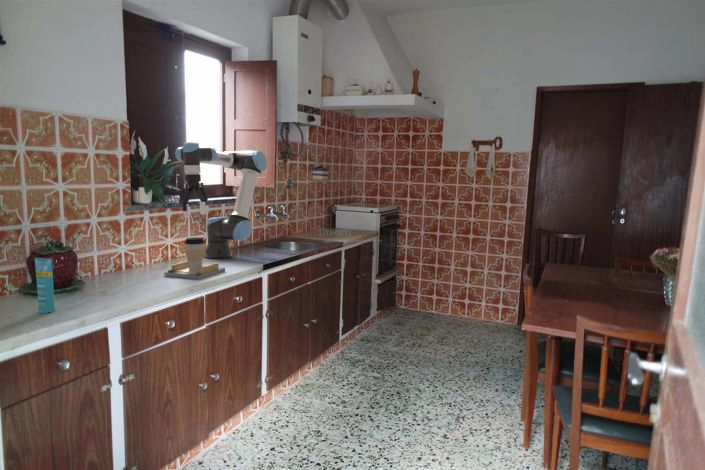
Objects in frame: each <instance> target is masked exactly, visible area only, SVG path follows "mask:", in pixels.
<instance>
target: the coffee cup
mask: <svg viewBox="0 0 705 470" xmlns="http://www.w3.org/2000/svg"><path fill="white" fill-rule="evenodd" d="M205 243H206V242H205V240H204V238H203V237H188V238H186V239H185V241H184V244H185V251H186V258H187V259H186V261H188V265H189V270H192V271H196V270H198V268H199V267H202V266H203V260H204V254H205V252H204V251H205V247H204V246H205V245H204V244H205Z"/></svg>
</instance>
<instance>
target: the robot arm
mask: <svg viewBox="0 0 705 470" xmlns="http://www.w3.org/2000/svg"><path fill="white" fill-rule="evenodd" d="M174 155H175V158H176V159H177V161H179V162H183V164H184V167H183V168H184V173H185V174H184V181H185V183H183V184H182V190H181V194H180V197H179V201H178V203H179V204H180V205H182V211H183V212H182V213H183V214H182V215H183V218H187V219H189V218H190V208H189V206H190V205H189V204H188V203H189V201H190V199H191V196H192V194H193V193H195V194H196V196H197V198H198V199H199V214H200V215H206V203H207V202H208V200H209V198H208V195H207V191H206V189H205V187H204V182H201V181H202V178H201V164H207V165H214V166H215V165H216V166H221V167H223V168H226V169H232V170H235V171H236V170H237V171H240V172H241V173H242V174H241V177H240V178H241V179H240V182H239V183H240V184H239V186H238V191H237V195H236V198H235V204H234V208H233V212H231V213H230V214H229V216H218V217H217V216H216V217H209V218H208V219H207V224H206V228H207V229H206V230H207V231H206V233H207V245H206V249H205V252H204V258H208V259H226V258H231V257H232V255H233V254H232V253H233V252H232V249H231V246H230V243H229V241H238V242H239V241H243V242H244V241H246V240H247V239H248V238H250V236H251V234H252V232H253V227H252V223H251V221H250V220H251V219H250V217H249V213H250V209H251V204H252V202H253V201H252V200H253V198H254V197H253V196H254V193H255V187H256V184H257V180H258V178H259V177H260V176H261V174H262V172H263V171H265V170H267V167H268V160H267V156H266V155H265V153H264V152H263V151H261V150H235V151H228V150H227V151H223V152H222V151H217V149H216V148H215V147H213V146H200V144H199V142H194V141H193V142H192V141H191V142H184V143H183V146H180V147H177V148H176V149H175V154H174Z"/></svg>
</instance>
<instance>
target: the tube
mask: <svg viewBox="0 0 705 470" xmlns="http://www.w3.org/2000/svg"><path fill="white" fill-rule="evenodd" d="M34 265H35V266H34V267H35V278H36V289H37V290H36V292H37V304H38V305H37V306H38V313H39V314H49V313H48V312H51V313H53V311H54V312H55V311H56V304H55V290H54V275H53V274H54V273H53V258H41V257H34Z"/></svg>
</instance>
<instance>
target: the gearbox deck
mask: <svg viewBox="0 0 705 470" xmlns="http://www.w3.org/2000/svg"><path fill="white" fill-rule="evenodd" d="M219 265H220V264H219V262H214V263H211V264H206V265H202V267H199V268H198V270H196V271H192V270H189V265H188V260H186V261H182V262H178V263H175V264H174V263H173V264H171V266H170V267H171V268H170V269H168V270H167V271H164V272H163V276H164V277H168V278H175V279H176V278H177V279H186V280H188V279H189V280H195V281H201V280H204V279H207V278H211V277H213V276H217V275H220V274H222V273H226V268H225V267H220V266H219Z"/></svg>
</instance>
